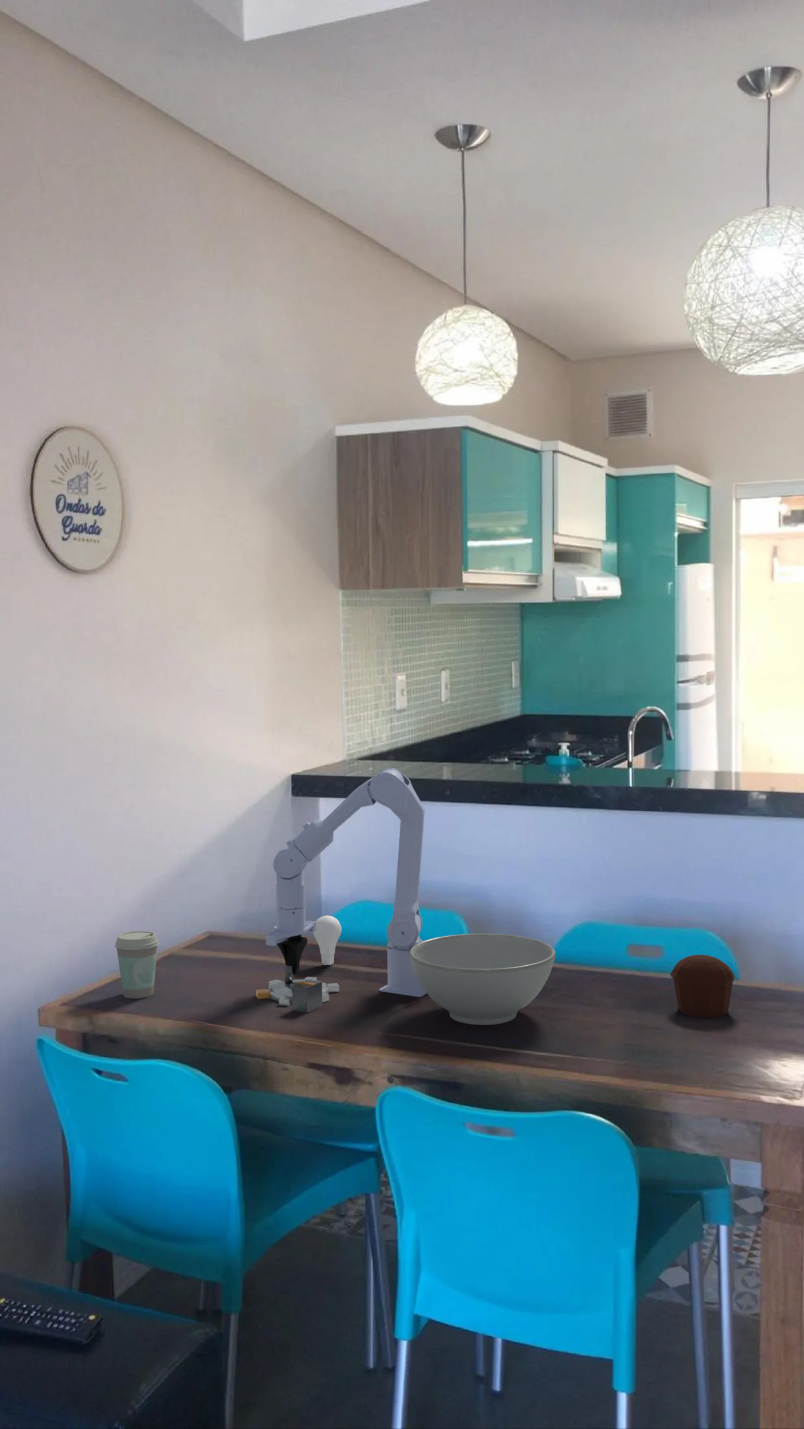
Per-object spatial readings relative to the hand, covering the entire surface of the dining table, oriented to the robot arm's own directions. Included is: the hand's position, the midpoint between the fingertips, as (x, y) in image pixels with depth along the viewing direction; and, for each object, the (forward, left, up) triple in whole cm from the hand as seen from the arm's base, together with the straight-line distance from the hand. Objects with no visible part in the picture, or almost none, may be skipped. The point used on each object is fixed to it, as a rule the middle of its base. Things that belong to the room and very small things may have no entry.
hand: (292, 973), depth 239 cm
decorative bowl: (-42, -1, -3) cm, 42 cm away
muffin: (-77, -22, -3) cm, 80 cm away
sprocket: (-4, +4, -3) cm, 6 cm away
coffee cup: (+25, +18, -3) cm, 31 cm away
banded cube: (-11, +11, -3) cm, 16 cm away
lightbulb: (+3, -17, -3) cm, 18 cm away
